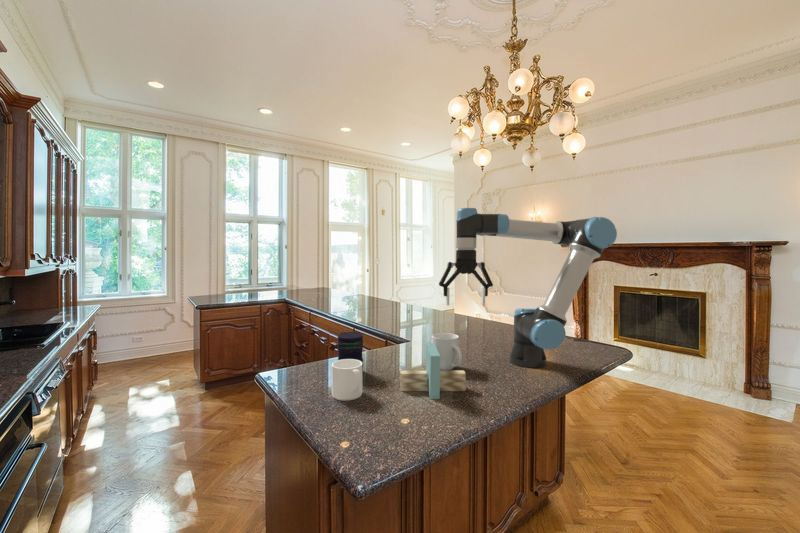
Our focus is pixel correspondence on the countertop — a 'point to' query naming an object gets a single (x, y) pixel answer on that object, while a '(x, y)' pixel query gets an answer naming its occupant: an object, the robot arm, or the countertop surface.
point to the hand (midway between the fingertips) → (465, 305)
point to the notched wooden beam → (419, 382)
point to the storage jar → (350, 346)
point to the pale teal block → (433, 370)
